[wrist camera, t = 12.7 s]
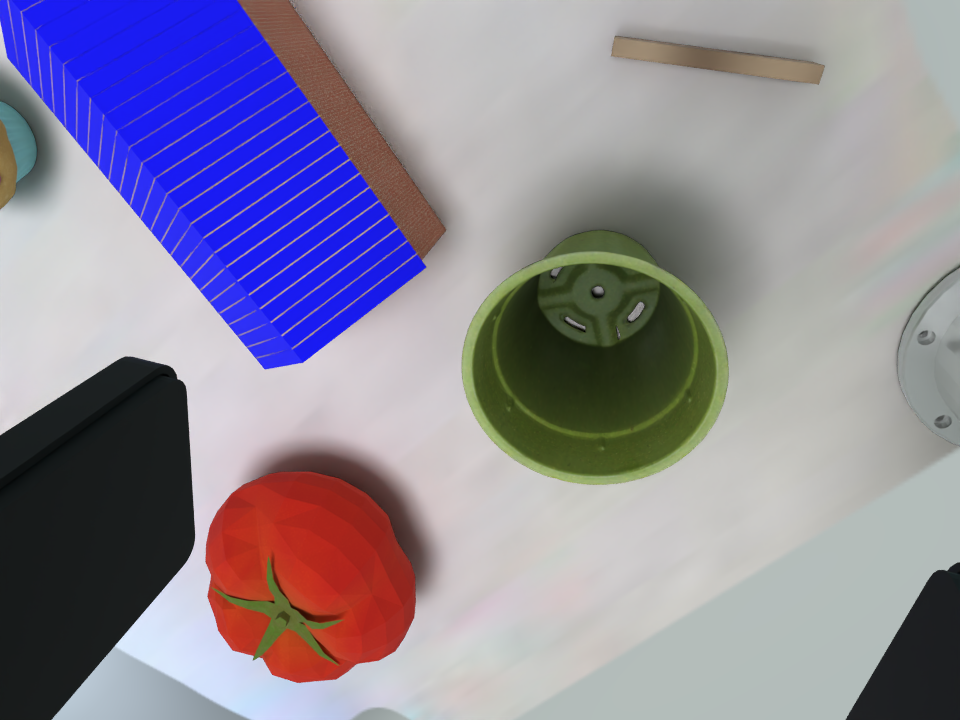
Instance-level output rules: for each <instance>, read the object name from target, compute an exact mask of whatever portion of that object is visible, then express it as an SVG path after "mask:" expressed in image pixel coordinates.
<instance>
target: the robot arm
mask: <svg viewBox="0 0 960 720" xmlns="http://www.w3.org/2000/svg"><path fill="white" fill-rule="evenodd" d="M923 331H925V332H924V333H923V334H921V335H919V334H920V333H921V332H923ZM897 372H898V376H899V381H900V386H901V390H902V392H903V394H904V396H905V398H906V400H907V402H908V404H909V406H910V407H911V408H912V410H913V411H914V412H915V414H916V415H917V416H918V418H919V419H920V420H921V421H922V422H923V423H924V424H925V425H926V426H927V427H928V428H929V429H930V430H931V431H932V432H933V433H935V434H937V435H938V436H940V437H942V438H943V439H945V440H947V441H948V442H950V443H952V444H955V445H958V446H960V268H958V269H957V270H956V271H954V272H953V273H951V274H950V275H948V276H947V277H945V278H944V279H943V280H942V281H941V282H940V283H939V284H938V285H937V286H936V287H935V288H934V289H933V290H932V291H931V292H930V293H929V294H927V296H926V297H925V298H924V300H923V301H922V302H921V304H920V305H919V306H918V308H917V309H916V310H915V312H914V313H913V314H912V316H911V318H910V320H909V322H908V324H907V326H906V328H905V330H904V332H903V335H902V339H901V343H900V347H899V351H898V370H897ZM194 542H195V525H194V508H193V491H192V474H191V457H190V440H189V423H188V406H187V391H186V386H185V384H184V383H183V382H182V381H181V380H178V379H177V375H176V373H175V371H174V369H173V368H171V367H170V366H167V365H163V364H159V363H155V362H151V361H147V360H143V359H139V358H135V357H123V358H121V359H119V360H117V361H115V362H114V363H112V364H111V365H109V366H108V367H106V368H105V369H103V370H101V371H100V372H98V373H97V374H95V375H94V376H92V377H91V378H89V379H87V380H86V381H84V382H83V383H81V384H80V385H78V386H76V387H75V388H73V389H72V390H70V391H69V392H67V393H66V394H64V395H62V396H61V397H59V398H58V399H56V400H55V401H53V402H52V403H50V404H48V405H47V406H45V407H44V408H42V409H41V410H39V411H37V412H36V413H34V414H33V415H31V416H30V417H28V418H27V419H25V420H23V421H22V422H20V423H19V424H17V425H16V426H14V427H13V428H11V429H9V430H8V431H6V432H5V433H3V434H2V435H0V720H52V719H53V717H54V716H55V715H56V714H57V713H58V712H59V710H60V709H61V708H62V707H63V706H64V705H65V703H66V702H67V701H68V700H69V699H70V698H71V696H72V695H73V694H74V693H75V692H76V690H77V689H78V688H79V687H80V686H81V684H82V683H83V682H84V681H85V680H86V679H87V678H88V676H89V675H90V674H91V673H92V672H93V671H94V669H95V668H96V667H97V666H98V665H99V664H100V662H101V661H102V660H103V659H104V658H105V657H106V655H107V654H108V653H109V652H110V651H111V650H112V648H113V647H114V646H115V645H116V644H117V643H118V641H119V640H120V639H121V638H122V637H123V636H124V634H125V633H126V632H127V631H128V630H129V629H130V627H131V626H132V625H133V624H134V623H135V622H136V620H137V619H138V618H139V617H140V616H141V615H142V613H143V612H144V611H145V610H146V609H147V608H148V606H149V605H150V604H151V603H152V602H153V601H154V599H155V598H156V597H157V596H158V595H159V594H160V592H161V591H162V590H163V589H164V588H165V587H166V585H167V584H168V583H169V582H170V581H171V580H172V578H173V577H174V576H175V575H176V574H177V573H178V571H179V570H180V569H181V568H182V567H183V566H184V564H185V563H186V561H187V560H188V558H189V556H190V554H191V552H192V549H193V546H194ZM846 720H960V563H956V564H954V565H953V566H952V567H950V568H949V570H948V571H945V570H938V571H936V572H935V573H933V574H932V576H931V577H930V578H929V580H928V581H927V583H926V585H925V586H924V588H923V590H922V591H921V593H920V595H919V597H918V598H917V600H916V602H915V603H914V605H913V607H912V608H911V610H910V612H909V613H908V615H907V617H906V618H905V620H904V622H903V624H902V625H901V627H900V629H899V630H898V632H897V634H896V635H895V637H894V639H893V640H892V642H891V644H890V645H889V647H888V649H887V650H886V652H885V654H884V656H883V657H882V659H881V661H880V662H879V664H878V666H877V667H876V669H875V671H874V672H873V674H872V676H871V678H870V679H869V681H868V683H867V684H866V686H865V688H864V690H863V691H862V693H861V694H860V696H859V698H858V699H857V701H856V703H855V704H854V706H853V708H852V710H851V711H850V713H849V715H848V716H847V719H846Z"/></svg>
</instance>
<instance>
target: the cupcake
mask: <svg viewBox="0 0 960 720" xmlns="http://www.w3.org/2000/svg"><path fill="white" fill-rule="evenodd" d="M36 157H37V147H36V142H35V138H34V135H33V133H32V131H31V129H30V127H29V125H28V124H27V122H26V121H25V119H24V118H23V117H22V116H21V115H20V114H19V113H18V112H17V111H16V110H15V109H13V108H12V107H11V106H9V105H7V104H6V103H3V102H1V101H0V209H2V208H3V207H4V206H5V205H6V204H7V203H8V201H9V200H10V199H11V198H12V197H13V195H14V194H15V191H16V183H17V182H18V181H19V180H20V179H21V178H23V177H24V176H25V175H26V174H28V173H29V172H30V171H31V170H32V168H33V166H34V164H35V162H36Z"/></svg>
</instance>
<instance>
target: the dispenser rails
mask: <svg viewBox="0 0 960 720" xmlns="http://www.w3.org/2000/svg"><path fill="white" fill-rule="evenodd" d="M611 56H614V57H621V58H628V59H636V60H643V61H650V62H658V63H665V64H672V65H680V66H687V67H694V68H702V69H709V70H717V71H724V72H731V73H739V74H746V75H753V76H761V77H768V78H775V79H783V80H790V81H797V82H805V83H812V84H819V83H820V79H821V76H822V73H823V70H824V67H825V66H824V65H821V64H817V63H814V62H809V61H802V60H794V59H787V58H779V57H771V56H764V55H756V54H749V53H741V52H734V51H726V50H719V49H711V48H704V47H696V46H688V45H681V44H673V43H666V42H658V41H651V40H643V39H636V38H628V37H621V36H615V38H614V43H613V48H612V54H611Z"/></svg>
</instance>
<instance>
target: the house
mask: <svg viewBox="0 0 960 720" xmlns="http://www.w3.org/2000/svg"><path fill="white" fill-rule="evenodd" d="M0 22H1V27H2V32H3V37H4V42H5V48H6V53H7V58H8V59H9V60H10V61H11V63H12V64H13V65H14V66H15V67H16V69H17V70H18V71H19V72H20V73H21V75H22V76H23V77H24V78H25V80H26V81H27V82H28V83H29V84H30V86H31V87H32V88H33V89H34V90H35V92H36V93H37V94H38V95H39V96H40V98H41V99H42V100H43V101H44V103H45V104H46V105H47V106H48V107H49V109H50V110H51V111H52V112H53V113H54V115H55V116H56V117H57V118H58V119H59V121H60V122H61V123H62V124H63V126H64V127H65V128H66V129H67V130H68V132H69V133H70V134H71V135H72V136H73V138H74V139H75V140H76V141H77V142H78V144H79V145H80V146H81V147H82V149H83V150H84V151H85V152H86V153H87V155H88V156H89V157H90V158H91V159H92V161H93V162H94V163H95V164H96V165H97V167H98V168H99V169H100V170H101V172H102V173H103V174H104V175H105V176H106V178H107V179H108V180H109V181H110V182H111V184H112V185H113V186H114V187H115V188H116V190H117V191H118V192H119V193H120V195H121V196H122V197H123V198H124V199H125V201H126V202H127V203H128V204H129V205H130V207H131V208H132V209H133V210H134V211H135V213H136V214H137V215H138V216H139V218H140V219H141V220H142V221H143V222H144V224H145V225H146V226H147V227H148V228H149V230H150V231H151V232H152V233H153V234H154V236H155V237H156V238H157V239H158V241H159V242H160V243H161V244H162V245H163V247H164V248H165V249H166V250H167V251H168V253H169V254H170V255H171V256H172V257H173V259H174V260H175V261H176V262H177V264H178V265H179V266H180V267H181V268H182V270H183V271H184V272H185V273H186V274H187V276H188V277H189V278H190V279H191V280H192V282H193V283H194V284H195V285H196V287H197V288H198V289H199V290H200V291H201V293H202V294H203V295H204V296H205V297H206V299H207V300H208V301H209V302H210V303H211V305H212V306H213V307H214V308H215V310H216V311H217V312H218V313H219V314H220V316H221V317H222V318H223V319H224V320H225V322H226V323H227V324H228V325H229V326H230V328H231V329H232V330H233V331H234V333H235V334H236V335H237V336H238V337H239V339H240V340H241V341H242V342H243V343H244V345H245V346H246V347H247V348H248V349H249V351H250V352H251V353H252V354H253V356H254V357H255V358H256V359H257V360H258V362H259V363H260V364H261V365H262V366H263V368H264V369H270V368H276V367H281V366H287V365H292V364H298V363H303V362H304V361H306V360H307V359H308V358H310V357H311V356H312V355H313V354H315V353H316V352H317V351H319V350H320V349H321V348H323V347H324V346H325V345H326V344H328V343H329V342H330V341H332V340H333V339H334V338H335V337H337V336H338V335H339V334H341V333H342V332H343V331H345V330H346V329H347V328H348V327H350V326H351V325H352V324H354V323H355V322H356V321H357V320H359V319H360V318H361V317H363V316H364V315H365V314H367V313H368V312H369V311H370V310H372V309H373V308H374V307H376V306H377V305H378V304H380V303H381V302H382V301H383V300H385V299H386V298H387V297H389V296H390V295H391V294H392V293H394V292H395V291H396V290H398V289H399V288H400V287H402V286H403V285H404V284H405V283H407V282H408V281H409V280H411V279H412V278H413V277H414V276H416V275H417V274H418V273H420V272H421V271H422V270H424V269H425V268H426V266H425V264H424V263H423V262H422V259H423V258H424V257H425V256H426V254H427V253H428V252H429V251H430V249H431V248H432V247H433V246H434V245H435V243H436V242H437V241H438V240H439V238H440V237H441V236H442V235H443V234H444V232H445V231H446V229H445V227H444V226H443V224H442V223H441V221H440V220H439V219H438V217H437V216H436V214H435V213H434V211H433V210H432V208H431V207H430V205H429V204H428V203H427V201H426V200H425V198H424V197H423V195H422V194H421V192H420V191H419V189H418V188H417V187H416V185H415V184H414V182H413V181H412V179H411V178H410V176H409V175H408V173H407V172H406V171H405V169H404V168H403V166H402V165H401V163H400V162H399V160H398V159H397V157H396V156H395V155H394V153H393V152H392V150H391V149H390V147H389V146H388V144H387V143H386V141H385V140H384V139H383V137H382V136H381V134H380V133H379V131H378V130H377V128H376V127H375V125H374V124H373V123H372V121H371V120H370V118H369V117H368V115H367V114H366V112H365V111H364V109H363V108H362V107H361V105H360V104H359V102H358V101H357V99H356V98H355V96H354V95H353V93H352V92H351V91H350V89H349V88H348V86H347V85H346V83H345V82H344V80H343V79H342V78H341V76H340V75H339V73H338V72H337V70H336V69H335V67H334V66H333V64H332V63H331V62H330V60H329V59H328V57H327V56H326V54H325V53H324V51H323V50H322V48H321V47H320V46H319V44H318V43H317V41H316V40H315V38H314V37H313V35H312V34H311V32H310V31H309V30H308V28H307V27H306V25H305V24H304V22H303V21H302V19H301V18H300V16H299V15H298V14H297V12H296V11H295V9H294V8H293V6H292V5H291V3H290V2H289V0H0Z"/></svg>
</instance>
